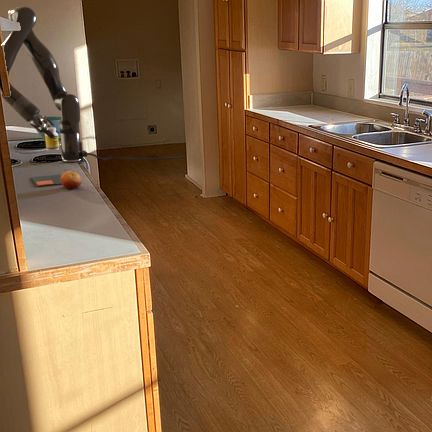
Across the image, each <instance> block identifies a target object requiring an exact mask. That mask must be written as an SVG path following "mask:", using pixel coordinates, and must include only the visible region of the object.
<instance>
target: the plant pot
mask: <svg viewBox="0 0 432 432" xmlns="http://www.w3.org/2000/svg"><path fill="white" fill-rule="evenodd" d="M46 117H47V118H48V119H49V120H50V121H51V122H52V123H53V124H54V128H56V130H57V131H58V132H59V133H60V128H59V121H60V120H61V118H62V116H57V115H56V116H54V115H53V116H52V115H51V116H48V115H47V116H46ZM49 126H50V125H49ZM47 127H48V126H47ZM35 131H36V132H37V133H38V135H39V136H40V137H41V138H42V139H43V140H44V141H46V139H45V133H43V132H42V133H41V132H39V131H38V130H37V129H35ZM59 139H61V138H60V134H59V135H58V140H59Z"/></svg>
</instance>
